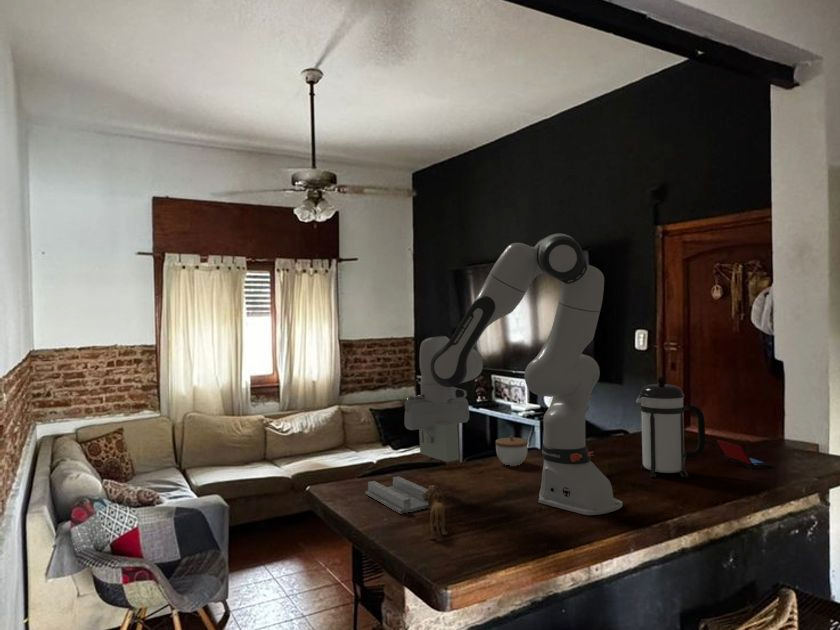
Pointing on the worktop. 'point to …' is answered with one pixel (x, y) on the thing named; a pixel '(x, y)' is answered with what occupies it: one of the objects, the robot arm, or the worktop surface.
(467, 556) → the worktop surface
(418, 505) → the bottom track
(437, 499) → the lion figurine
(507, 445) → the lidded jar
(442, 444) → the door panel
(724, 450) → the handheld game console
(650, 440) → the coffee press
